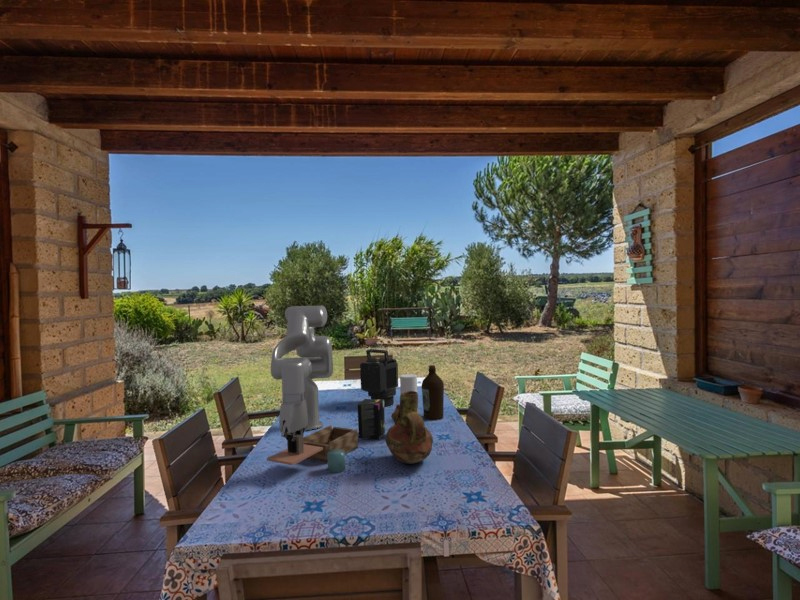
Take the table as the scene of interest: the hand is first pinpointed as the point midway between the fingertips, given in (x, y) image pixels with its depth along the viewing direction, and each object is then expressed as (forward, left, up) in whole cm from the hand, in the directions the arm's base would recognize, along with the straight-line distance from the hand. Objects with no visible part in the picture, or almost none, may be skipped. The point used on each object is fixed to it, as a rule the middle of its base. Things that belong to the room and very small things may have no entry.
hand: (295, 450), depth 160 cm
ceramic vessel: (+31, +25, -8) cm, 41 cm away
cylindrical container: (+18, +52, -8) cm, 56 cm away
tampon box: (+4, +44, -8) cm, 45 cm away
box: (0, +20, -7) cm, 21 cm away
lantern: (-19, +91, -8) cm, 93 cm away
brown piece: (0, 0, -2) cm, 2 cm away
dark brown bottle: (+17, +79, -8) cm, 81 cm away
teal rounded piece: (+12, +7, -7) cm, 16 cm away
